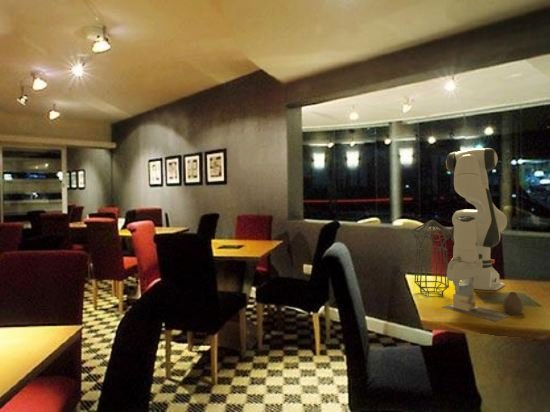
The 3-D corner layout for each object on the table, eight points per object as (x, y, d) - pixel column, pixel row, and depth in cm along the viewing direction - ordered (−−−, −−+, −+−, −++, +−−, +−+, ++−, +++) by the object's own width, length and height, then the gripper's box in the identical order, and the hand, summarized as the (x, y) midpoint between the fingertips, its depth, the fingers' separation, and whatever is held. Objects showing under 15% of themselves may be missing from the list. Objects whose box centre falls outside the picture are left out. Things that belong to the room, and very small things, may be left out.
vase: (514, 318, 158) (515, 295, 157) (498, 313, 164) (499, 291, 164) (527, 316, 160) (527, 293, 160) (510, 311, 167) (511, 289, 166)
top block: (462, 292, 173) (462, 282, 173) (473, 294, 169) (473, 285, 168) (455, 294, 170) (455, 284, 170) (466, 296, 166) (466, 286, 166)
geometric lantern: (420, 298, 186) (420, 221, 184) (409, 290, 201) (410, 219, 200) (455, 299, 185) (456, 221, 184) (442, 290, 201) (443, 218, 199)
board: (459, 304, 176) (459, 301, 176) (513, 317, 158) (513, 314, 158) (441, 309, 169) (441, 306, 169) (495, 324, 151) (495, 321, 151)
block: (461, 303, 174) (461, 291, 173) (475, 307, 169) (475, 294, 168) (453, 305, 170) (453, 294, 170) (466, 309, 165) (467, 297, 165)
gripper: (457, 259, 160) (456, 294, 161) (485, 254, 172) (485, 287, 172) (442, 257, 165) (442, 291, 166) (471, 252, 177) (470, 284, 177)
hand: (464, 289), depth 169 cm, fingers open, 8 cm apart
